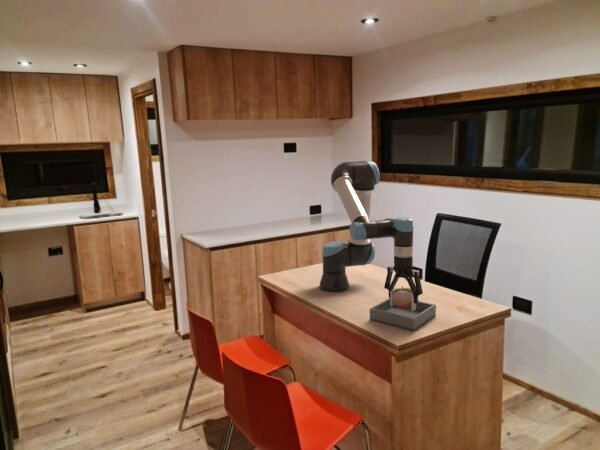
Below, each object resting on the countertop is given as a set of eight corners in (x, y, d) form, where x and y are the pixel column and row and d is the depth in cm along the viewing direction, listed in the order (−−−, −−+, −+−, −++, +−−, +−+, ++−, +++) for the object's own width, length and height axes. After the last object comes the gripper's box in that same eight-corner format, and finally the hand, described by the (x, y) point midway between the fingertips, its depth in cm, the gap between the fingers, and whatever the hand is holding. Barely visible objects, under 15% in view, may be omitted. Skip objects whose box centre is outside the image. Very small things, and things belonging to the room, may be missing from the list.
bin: (369, 320, 190) (369, 308, 189) (393, 306, 205) (393, 295, 204) (413, 331, 177) (413, 319, 176) (435, 316, 192) (435, 304, 191)
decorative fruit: (409, 304, 195) (409, 282, 193) (416, 311, 187) (416, 288, 185) (388, 306, 194) (388, 283, 192) (394, 313, 186) (394, 289, 184)
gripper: (375, 253, 190) (375, 305, 194) (424, 261, 176) (423, 316, 180) (384, 250, 196) (384, 300, 200) (432, 257, 182) (431, 310, 186)
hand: (402, 307), depth 190 cm, fingers closed on decorative fruit, 9 cm apart
